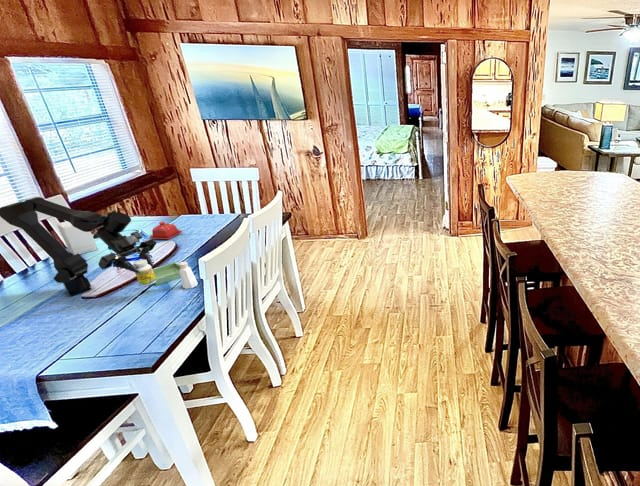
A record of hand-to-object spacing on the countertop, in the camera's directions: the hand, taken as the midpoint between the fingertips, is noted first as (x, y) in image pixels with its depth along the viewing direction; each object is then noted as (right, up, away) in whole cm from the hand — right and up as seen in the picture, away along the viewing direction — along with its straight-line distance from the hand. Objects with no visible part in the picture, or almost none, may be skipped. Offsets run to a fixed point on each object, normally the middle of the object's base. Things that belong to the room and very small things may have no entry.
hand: (145, 269), depth 152 cm
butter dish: (-39, +14, +58) cm, 72 cm away
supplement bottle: (-2, -6, +3) cm, 7 cm away
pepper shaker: (+9, -8, +12) cm, 17 cm away
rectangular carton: (-66, +7, +41) cm, 78 cm away
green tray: (-8, -4, +20) cm, 22 cm away
